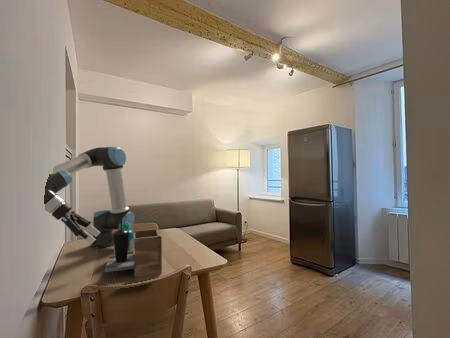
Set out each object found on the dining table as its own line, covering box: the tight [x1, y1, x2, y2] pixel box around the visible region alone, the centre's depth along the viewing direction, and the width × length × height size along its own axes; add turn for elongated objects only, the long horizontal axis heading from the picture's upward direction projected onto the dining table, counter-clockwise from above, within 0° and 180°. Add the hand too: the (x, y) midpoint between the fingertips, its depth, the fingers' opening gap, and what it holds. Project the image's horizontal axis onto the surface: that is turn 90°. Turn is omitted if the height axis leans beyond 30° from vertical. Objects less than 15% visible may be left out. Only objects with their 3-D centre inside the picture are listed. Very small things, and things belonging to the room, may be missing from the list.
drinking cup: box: [112, 219, 130, 263], centre depth 117 cm, size 8×8×20 cm
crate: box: [104, 228, 163, 278], centre depth 119 cm, size 18×24×17 cm
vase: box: [113, 223, 135, 255], centre depth 135 cm, size 11×11×19 cm
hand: (96, 238), depth 114 cm, fingers open, 13 cm apart
